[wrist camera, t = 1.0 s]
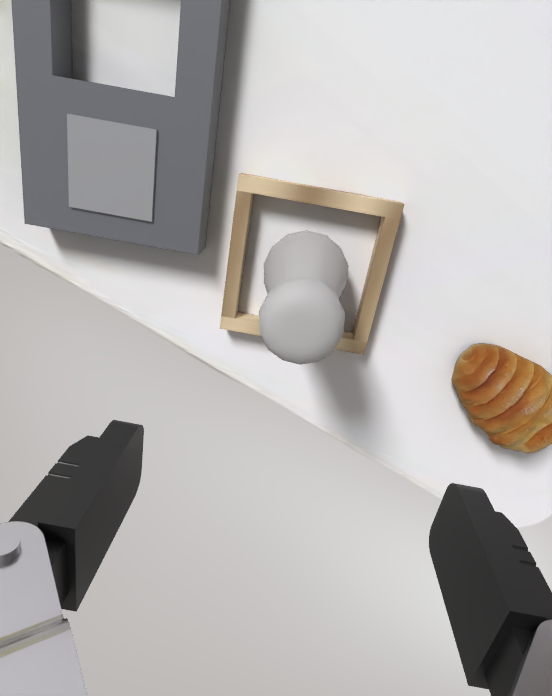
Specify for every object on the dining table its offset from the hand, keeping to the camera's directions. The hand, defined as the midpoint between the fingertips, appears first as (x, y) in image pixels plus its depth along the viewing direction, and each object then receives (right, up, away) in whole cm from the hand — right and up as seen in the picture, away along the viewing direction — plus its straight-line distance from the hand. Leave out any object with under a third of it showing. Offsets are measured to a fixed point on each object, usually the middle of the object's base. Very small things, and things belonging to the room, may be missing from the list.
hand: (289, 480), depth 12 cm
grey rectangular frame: (-10, +20, +18) cm, 29 cm away
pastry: (+18, 0, +25) cm, 31 cm away
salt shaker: (+2, +10, +22) cm, 24 cm away
